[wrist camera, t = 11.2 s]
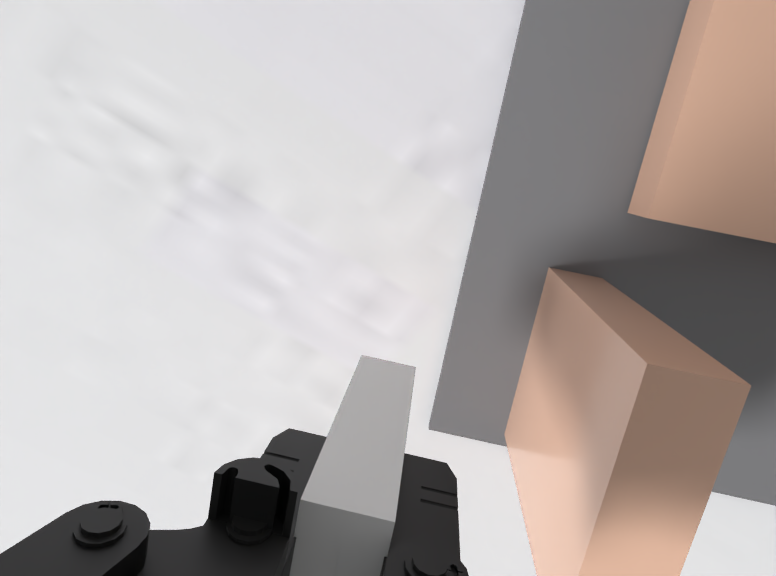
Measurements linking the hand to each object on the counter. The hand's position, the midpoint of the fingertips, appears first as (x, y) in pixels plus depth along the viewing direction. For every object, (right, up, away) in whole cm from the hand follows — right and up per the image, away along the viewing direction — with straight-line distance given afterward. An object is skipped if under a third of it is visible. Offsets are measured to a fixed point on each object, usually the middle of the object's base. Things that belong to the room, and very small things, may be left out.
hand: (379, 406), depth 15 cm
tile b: (+7, 0, +6) cm, 9 cm away
